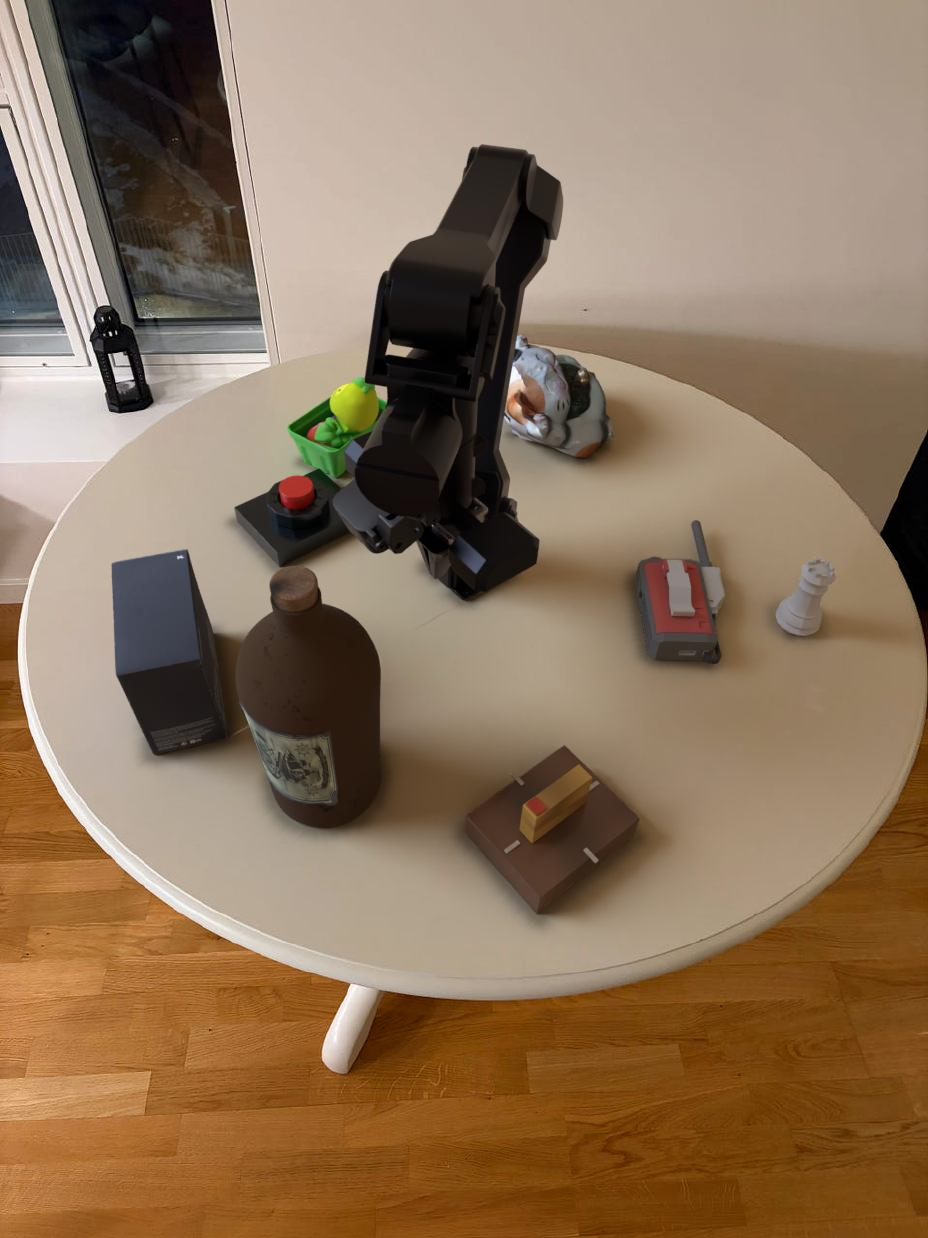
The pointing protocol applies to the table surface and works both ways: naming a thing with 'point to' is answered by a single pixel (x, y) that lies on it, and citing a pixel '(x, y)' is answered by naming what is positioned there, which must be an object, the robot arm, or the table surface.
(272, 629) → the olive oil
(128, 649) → the small box
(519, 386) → the lucky cat figurine
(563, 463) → the table surface
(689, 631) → the walkie-talkie
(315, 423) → the fruit basket
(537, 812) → the rod knob
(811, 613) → the rook chess piece
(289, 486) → the button
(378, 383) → the robot arm
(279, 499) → the button block
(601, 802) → the panel
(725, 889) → the table surface
